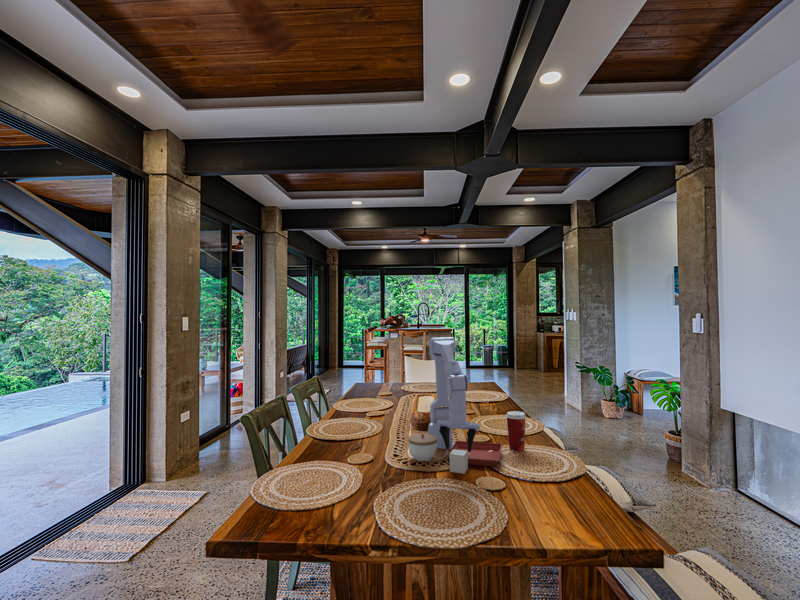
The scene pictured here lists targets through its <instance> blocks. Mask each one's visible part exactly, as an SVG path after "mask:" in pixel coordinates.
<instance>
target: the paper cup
mask: <svg viewBox="0 0 800 600" xmlns="http://www.w3.org/2000/svg"><path fill="white" fill-rule="evenodd" d="M505 417H506V424H507V435H508V438H507V439H508V446H509V450H510V449H511V450H510V451H512V450H514V451H513V452H515V451H522V452H524V451H525V443H526V442H525V441H526V419H527V416H526V413H525V412H524V411H517V410H513V411H507V412H506V415H505ZM523 450H524V451H523Z"/></svg>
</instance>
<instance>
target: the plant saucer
mask: <svg viewBox="0 0 800 600" xmlns="http://www.w3.org/2000/svg"><path fill="white" fill-rule="evenodd" d="M454 442H455V443H454V445H453V447H452V448H451V449H450V451H449V453H448V458H449V459H450V453H451V452H452V450H453V449H456V450H464V451H468V440H466V441H465V440H464V441H463V440H456V441H454ZM502 447H503V444H502V443H498V442H497V443H495V442H482V441H481V442H480V441H473V443H472V448H471V452H468V453H469V454H470V455H469V454H468V465H471V466H472V465H473V466H485V467H496V466H497V464H499V462H500V461H501V460H500V459H501V455H502V454H501V453H502ZM489 450H493V451H492V452H488V451H489Z"/></svg>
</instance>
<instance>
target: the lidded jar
mask: <svg viewBox="0 0 800 600" xmlns="http://www.w3.org/2000/svg"><path fill="white" fill-rule="evenodd" d="M407 441H408V449H409V453H410V454H411V457H413V459H414V460H415V461H416V460H417V462H419V461H427V462H429V461H432V459H433V457H435V455H436V453H437V449H438V448H437V437H436V436H434V435H431V434H428V433H424V432H421V433H415V434H411V435H410V436H409V437H408V440H407Z"/></svg>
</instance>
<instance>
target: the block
mask: <svg viewBox="0 0 800 600" xmlns="http://www.w3.org/2000/svg"><path fill="white" fill-rule="evenodd" d="M449 453H450V452H449ZM468 465H469V464H468V451H464V450H456V449H453V450H452V452H451V453H450V458H449V472H450V473H456V474H463V475H464V474H466V472H467V470H468V469H469V466H468Z"/></svg>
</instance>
